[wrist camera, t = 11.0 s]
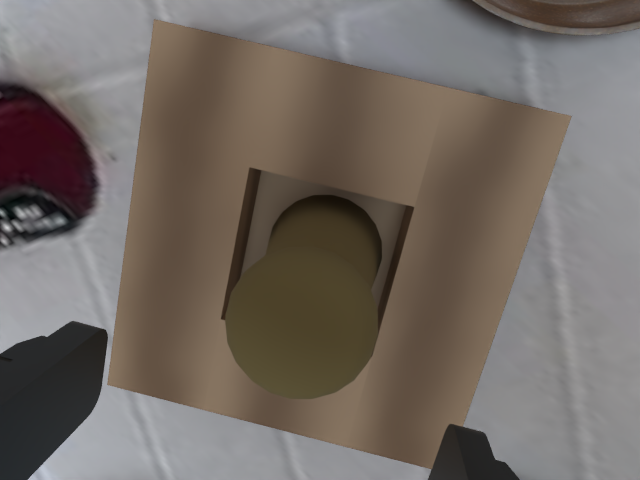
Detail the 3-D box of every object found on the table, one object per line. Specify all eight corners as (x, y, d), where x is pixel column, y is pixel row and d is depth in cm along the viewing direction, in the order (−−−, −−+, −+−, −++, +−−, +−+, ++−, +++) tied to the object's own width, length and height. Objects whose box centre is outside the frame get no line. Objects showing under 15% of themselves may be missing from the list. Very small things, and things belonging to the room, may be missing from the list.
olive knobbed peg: (402, 274, 26) (428, 385, 15) (303, 322, 27) (261, 457, 16) (347, 172, 25) (333, 213, 14) (247, 228, 26) (162, 305, 15)
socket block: (538, 116, 24) (571, 116, 20) (435, 425, 29) (446, 472, 25) (187, 35, 25) (154, 19, 21) (141, 349, 29) (107, 384, 25)
